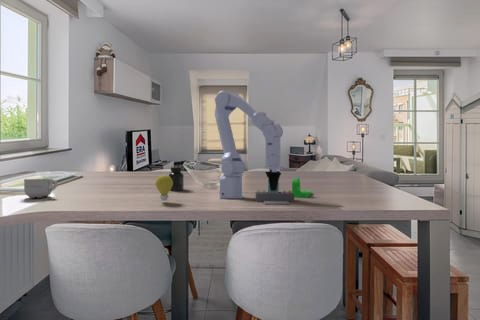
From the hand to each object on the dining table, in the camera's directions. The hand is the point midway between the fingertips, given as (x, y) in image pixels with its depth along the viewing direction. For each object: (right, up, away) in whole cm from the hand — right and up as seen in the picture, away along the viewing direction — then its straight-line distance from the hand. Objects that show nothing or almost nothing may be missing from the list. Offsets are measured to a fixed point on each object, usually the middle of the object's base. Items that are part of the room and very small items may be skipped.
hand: (273, 189), depth 154 cm
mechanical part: (+14, -4, +16) cm, 22 cm away
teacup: (-96, -4, +12) cm, 97 cm away
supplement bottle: (-43, -4, +30) cm, 52 cm away
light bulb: (-43, -4, +1) cm, 43 cm away
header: (0, -4, 0) cm, 4 cm away
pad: (0, -4, -8) cm, 9 cm away
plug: (0, -3, 0) cm, 3 cm away
